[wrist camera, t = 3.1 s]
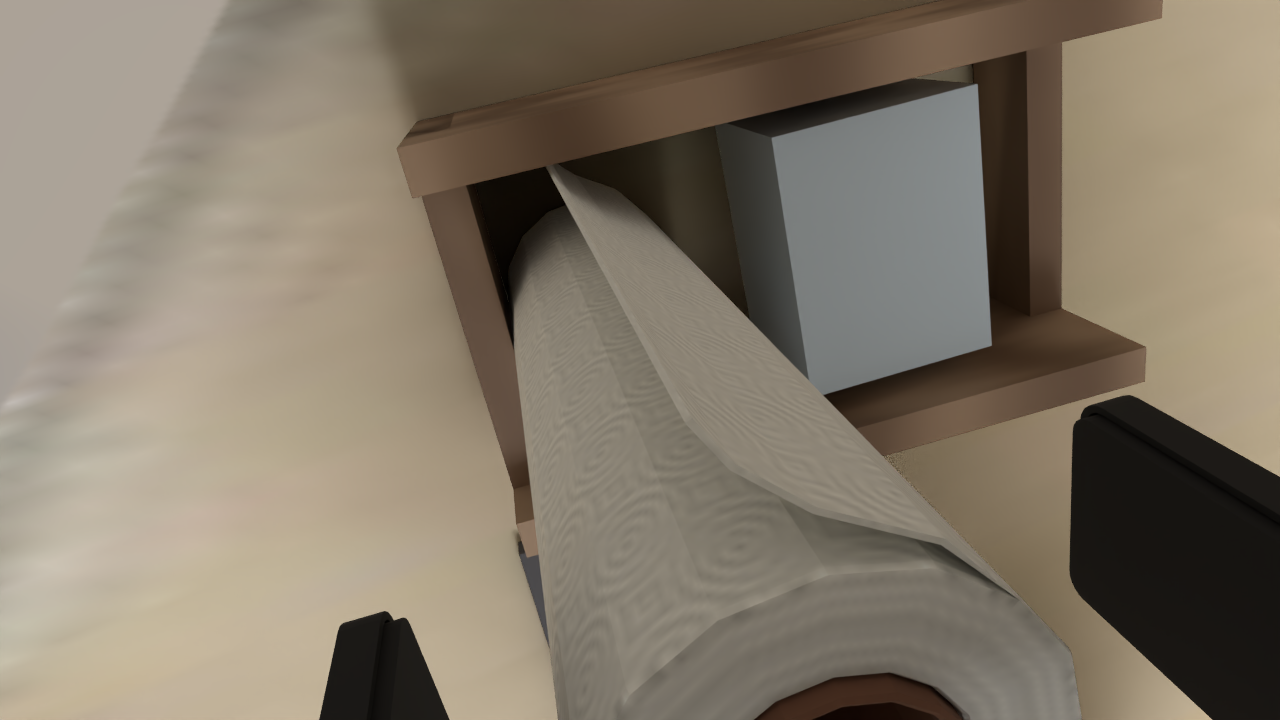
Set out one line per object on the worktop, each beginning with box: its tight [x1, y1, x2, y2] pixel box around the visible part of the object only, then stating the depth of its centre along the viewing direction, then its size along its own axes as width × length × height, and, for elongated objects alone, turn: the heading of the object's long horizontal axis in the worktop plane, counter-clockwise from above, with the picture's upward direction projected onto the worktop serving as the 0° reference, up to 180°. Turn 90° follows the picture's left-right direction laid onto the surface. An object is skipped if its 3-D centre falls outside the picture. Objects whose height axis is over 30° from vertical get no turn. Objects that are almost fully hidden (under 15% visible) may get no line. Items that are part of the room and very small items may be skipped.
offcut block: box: [715, 78, 992, 395], centre depth 26 cm, size 6×8×6 cm
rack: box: [397, 0, 1163, 558], centre depth 26 cm, size 20×12×7 cm, turn 102°
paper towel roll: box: [509, 164, 1082, 720], centre depth 19 cm, size 7×6×21 cm
